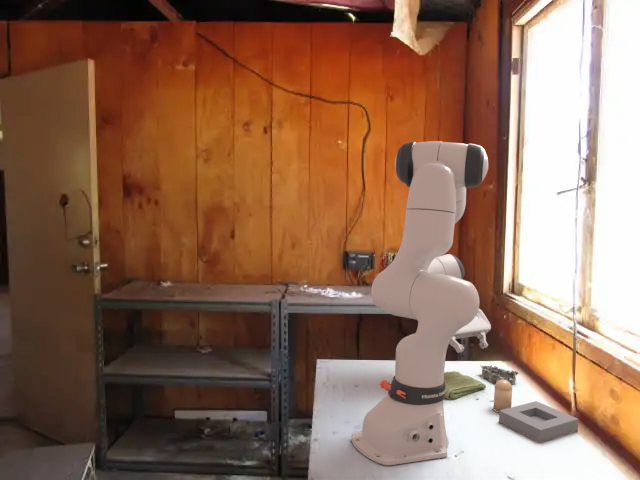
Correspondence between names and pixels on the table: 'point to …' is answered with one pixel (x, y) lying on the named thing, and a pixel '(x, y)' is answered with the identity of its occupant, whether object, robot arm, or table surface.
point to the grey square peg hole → (538, 421)
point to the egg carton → (498, 374)
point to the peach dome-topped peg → (502, 395)
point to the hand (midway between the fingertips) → (473, 349)
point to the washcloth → (460, 385)
